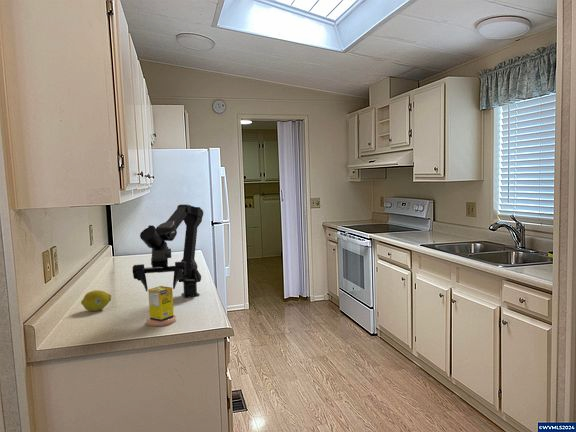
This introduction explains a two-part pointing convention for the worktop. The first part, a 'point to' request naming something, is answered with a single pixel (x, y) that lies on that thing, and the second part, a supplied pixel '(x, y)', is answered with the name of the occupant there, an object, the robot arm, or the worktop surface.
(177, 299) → the worktop surface
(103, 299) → the lemon
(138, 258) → the worktop surface
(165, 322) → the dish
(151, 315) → the supplement box
